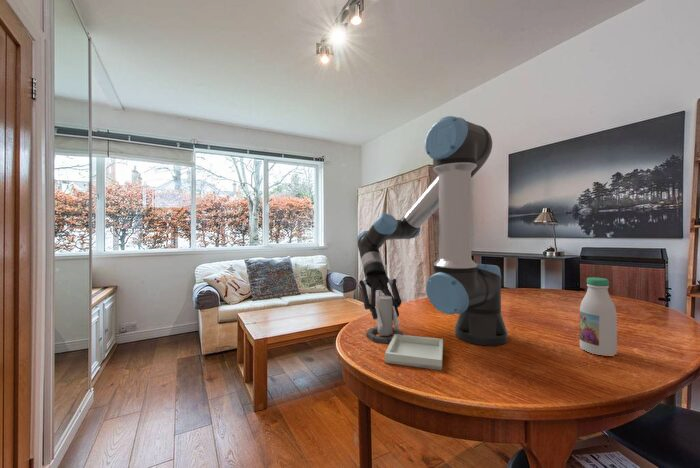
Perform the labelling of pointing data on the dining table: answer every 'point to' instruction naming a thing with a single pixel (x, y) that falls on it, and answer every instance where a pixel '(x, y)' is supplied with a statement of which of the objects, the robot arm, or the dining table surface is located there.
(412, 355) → the tray
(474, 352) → the dining table surface
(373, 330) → the seat ring
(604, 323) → the milk bottle
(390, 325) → the beverage can
